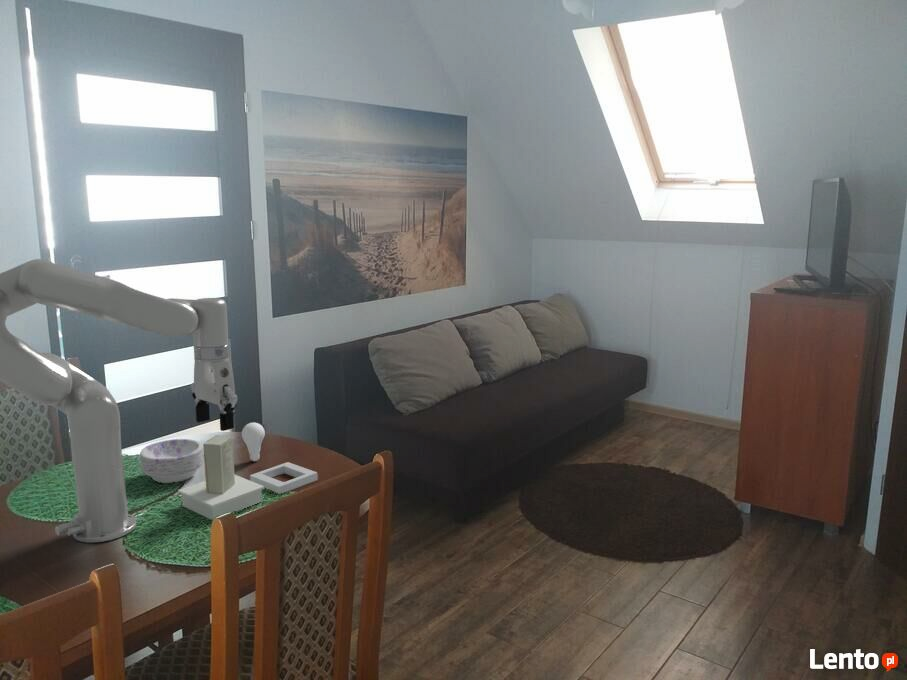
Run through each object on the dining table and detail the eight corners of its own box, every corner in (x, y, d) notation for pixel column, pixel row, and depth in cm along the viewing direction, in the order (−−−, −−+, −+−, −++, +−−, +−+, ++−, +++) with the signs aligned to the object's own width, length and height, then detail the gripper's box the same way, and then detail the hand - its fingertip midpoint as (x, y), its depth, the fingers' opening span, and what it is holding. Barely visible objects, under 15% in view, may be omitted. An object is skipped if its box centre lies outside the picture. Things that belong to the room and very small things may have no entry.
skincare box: (218, 483, 173) (215, 434, 171) (236, 484, 172) (233, 435, 170) (205, 493, 167) (201, 443, 164) (223, 494, 166) (219, 444, 164)
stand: (213, 522, 161) (211, 505, 160) (179, 505, 170) (178, 489, 169) (265, 502, 172) (264, 486, 171) (230, 487, 180) (230, 472, 179)
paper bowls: (163, 493, 177) (160, 462, 176) (130, 479, 186) (128, 449, 185) (216, 474, 189) (214, 445, 188) (183, 462, 198) (181, 434, 197)
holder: (279, 494, 176) (279, 486, 176) (250, 482, 183) (249, 475, 183) (317, 479, 185) (317, 472, 185) (288, 469, 193) (287, 462, 192)
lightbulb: (255, 455, 203) (253, 418, 200) (271, 459, 200) (268, 421, 197) (238, 462, 197) (236, 424, 195) (254, 466, 194) (252, 427, 192)
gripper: (248, 355, 161) (251, 429, 164) (205, 345, 172) (208, 414, 175) (218, 360, 155) (222, 436, 158) (175, 350, 166) (179, 421, 169)
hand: (214, 425), depth 167 cm, fingers open, 9 cm apart
